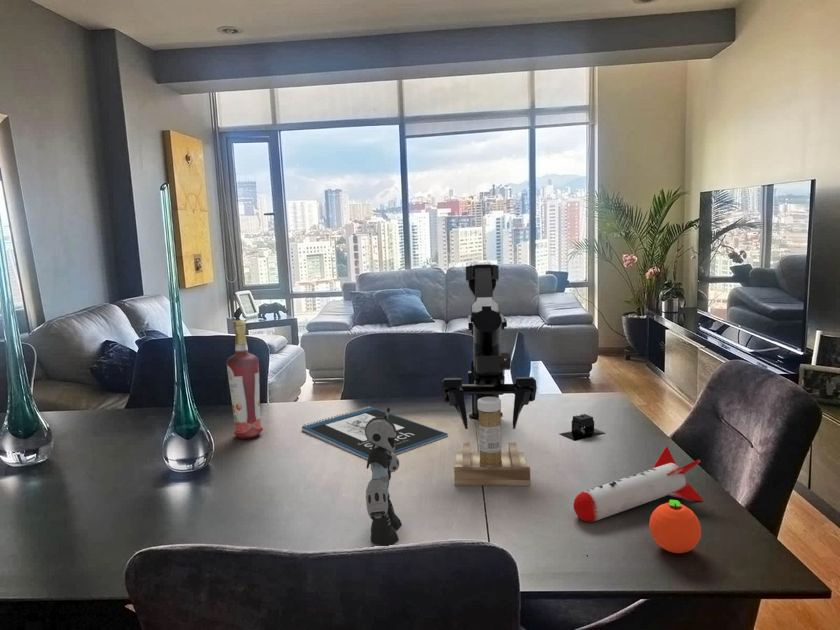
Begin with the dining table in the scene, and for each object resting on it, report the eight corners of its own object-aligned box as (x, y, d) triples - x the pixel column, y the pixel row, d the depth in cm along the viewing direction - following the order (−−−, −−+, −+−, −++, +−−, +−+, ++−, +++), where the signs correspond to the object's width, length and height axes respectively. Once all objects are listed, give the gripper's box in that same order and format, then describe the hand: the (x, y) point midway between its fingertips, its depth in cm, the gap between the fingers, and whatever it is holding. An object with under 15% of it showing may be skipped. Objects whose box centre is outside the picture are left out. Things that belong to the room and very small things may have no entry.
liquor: (269, 436, 140) (260, 321, 136) (239, 443, 136) (229, 324, 132) (257, 428, 146) (248, 318, 142) (228, 435, 142) (218, 321, 138)
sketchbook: (374, 465, 122) (373, 456, 122) (300, 432, 144) (299, 424, 144) (448, 438, 136) (447, 429, 136) (370, 411, 158) (369, 404, 158)
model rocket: (549, 492, 101) (571, 466, 94) (652, 459, 110) (680, 432, 102) (581, 553, 95) (608, 531, 88) (688, 513, 104) (720, 489, 96)
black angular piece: (592, 427, 140) (593, 408, 140) (615, 436, 134) (615, 416, 133) (551, 436, 135) (551, 416, 134) (572, 446, 128) (572, 425, 128)
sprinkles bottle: (501, 460, 118) (500, 395, 116) (502, 469, 114) (501, 402, 112) (478, 460, 118) (477, 396, 117) (479, 469, 114) (477, 402, 112)
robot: (378, 503, 103) (373, 394, 100) (406, 503, 103) (401, 393, 100) (360, 567, 84) (352, 433, 81) (394, 567, 84) (387, 432, 81)
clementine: (646, 531, 91) (647, 488, 90) (695, 536, 89) (696, 492, 88) (650, 559, 83) (651, 512, 82) (704, 566, 81) (706, 517, 80)
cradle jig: (456, 456, 123) (455, 443, 123) (523, 456, 122) (523, 442, 122) (454, 485, 110) (454, 470, 109) (530, 485, 108) (530, 469, 108)
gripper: (440, 339, 117) (439, 409, 108) (535, 337, 116) (542, 408, 106) (443, 368, 126) (443, 435, 117) (531, 366, 124) (537, 434, 115)
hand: (490, 428), depth 114 cm, fingers open, 9 cm apart
